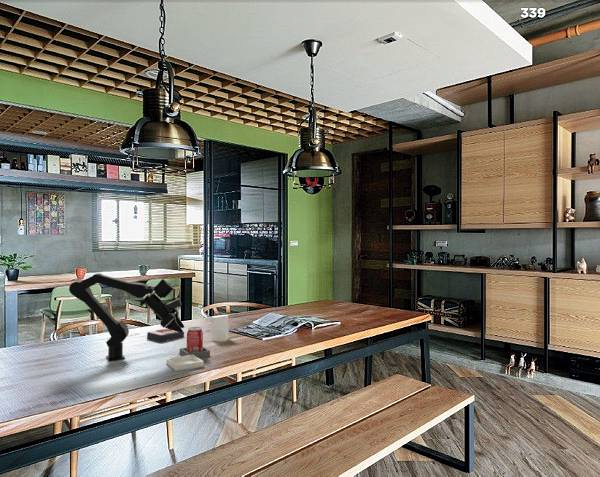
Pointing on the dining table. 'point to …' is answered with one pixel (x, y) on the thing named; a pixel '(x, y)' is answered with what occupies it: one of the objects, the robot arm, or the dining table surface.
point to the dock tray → (184, 362)
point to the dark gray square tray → (198, 354)
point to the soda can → (194, 340)
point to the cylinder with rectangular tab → (219, 328)
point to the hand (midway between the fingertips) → (183, 329)
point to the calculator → (164, 335)
